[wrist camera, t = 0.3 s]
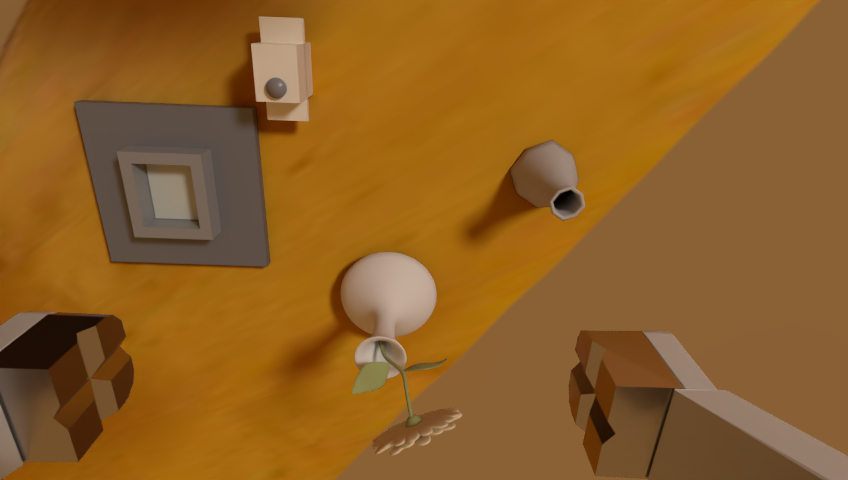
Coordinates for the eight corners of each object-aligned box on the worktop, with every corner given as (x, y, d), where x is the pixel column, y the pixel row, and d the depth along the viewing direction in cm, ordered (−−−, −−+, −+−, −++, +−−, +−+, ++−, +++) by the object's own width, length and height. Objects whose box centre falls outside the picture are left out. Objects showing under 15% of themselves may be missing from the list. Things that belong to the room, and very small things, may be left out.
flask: (533, 216, 57) (554, 254, 48) (498, 167, 55) (512, 196, 46) (589, 179, 55) (621, 210, 46) (554, 127, 53) (581, 149, 44)
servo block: (267, 16, 49) (246, 16, 43) (309, 18, 49) (293, 18, 43) (275, 114, 53) (257, 126, 47) (314, 116, 53) (300, 127, 47)
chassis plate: (81, 100, 52) (57, 105, 48) (255, 107, 52) (244, 113, 49) (117, 256, 59) (98, 271, 56) (270, 262, 59) (260, 276, 56)
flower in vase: (346, 329, 63) (302, 504, 40) (338, 246, 59) (283, 391, 36) (450, 327, 63) (464, 501, 40) (449, 244, 58) (466, 388, 36)
